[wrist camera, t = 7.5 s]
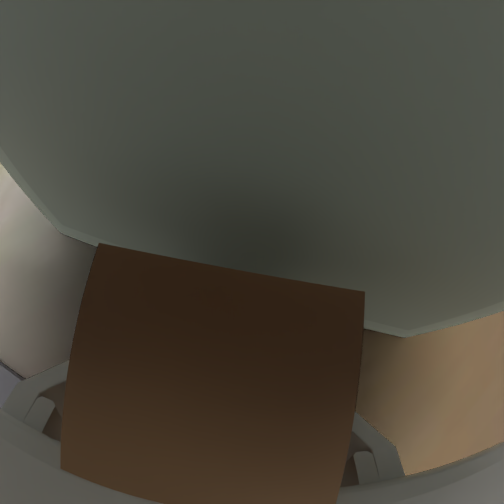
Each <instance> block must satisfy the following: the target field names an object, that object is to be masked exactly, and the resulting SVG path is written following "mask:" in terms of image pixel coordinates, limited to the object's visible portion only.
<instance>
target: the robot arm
mask: <svg viewBox="0 0 504 504" xmlns="http://www.w3.org/2000/svg"><path fill="white" fill-rule="evenodd" d="M68 366H69V360H68V361H66V362H64V363H61V364H59V365H57V366H55V367H52V368H50V369H48V370H46V371H43V372H41V373H39V374H37V375H34V376H32V377H30V378H28V379H25V380H23V381H21V382H18V383H17V385H16V386H15V388H14V389H13V391H12V392H11V394H10V395H9V397H8V398H7V400H6V401H5V403H4V404H3V406H2V407H1V409H0V504H163V503H159V502H154V501H150V500H146V499H142V498H139V497H135V496H132V495H128V494H125V493H122V492H118V491H115V490H112V489H109V488H107V487H104V486H101V485H98V484H95V483H93V482H90V481H88V480H85V479H83V478H80V477H78V476H76V475H73V474H71V473H69V472H66V471H64V470H62V469H60V457H61V429H62V415H63V404H64V395H65V386H66V379H67V372H68ZM336 504H504V442H501V443H499V444H497V445H494V446H492V447H490V448H488V449H486V450H483V451H481V452H478V453H476V454H474V455H471V456H468V457H466V458H463V459H460V460H458V461H455V462H452V463H449V464H446V465H443V466H440V467H437V468H433V469H430V470H427V471H423V472H419V473H416V474H412V475H408V476H405V474H404V471H403V468H402V465H401V462H400V459H399V456H398V453H397V450H396V447H395V446H394V445H393V444H392V443H391V442H389V441H388V440H387V439H386V438H385V437H384V436H383V435H381V434H380V433H379V432H378V431H377V430H376V429H374V428H373V427H372V426H371V425H370V424H369V423H368V422H367V421H365V420H364V419H363V418H362V417H361V416H360V415H359V414H358V413H356V412H355V414H354V421H353V427H352V433H351V438H350V444H349V449H348V454H347V459H346V464H345V468H344V473H343V477H342V481H341V485H340V489H339V493H338V497H337V501H336Z"/></svg>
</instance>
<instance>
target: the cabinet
mask: <svg viewBox="0 0 504 504" xmlns="http://www.w3.org/2000/svg"><path fill="white" fill-rule="evenodd" d="M0 162H1V164H2V165H3V166H4V168H5V169H6V170H7V172H8V173H9V174H10V175H11V177H12V178H13V179H14V180H15V182H16V183H17V184H18V185H19V187H20V188H21V189H22V190H23V191H24V193H25V194H26V195H27V196H28V197H29V198H30V200H31V201H32V202H33V203H34V204H35V205H36V207H37V208H38V209H39V210H40V211H41V212H42V213H43V214H44V216H45V217H46V218H47V219H48V220H49V221H50V222H51V223H52V224H53V225H54V226H55V227H56V229H57V230H58V231H59V232H60V233H62V234H64V235H67V236H69V237H72V238H75V239H77V240H80V241H83V242H85V243H88V244H91V245H93V246H96V247H98V244H99V243H103V244H108V245H113V246H118V247H122V248H127V249H132V250H137V251H142V252H147V253H152V254H157V255H162V256H167V257H172V258H178V259H183V260H188V261H193V262H198V263H204V264H209V265H214V266H220V267H225V268H230V269H236V270H241V271H247V272H252V273H258V274H264V275H269V276H275V277H281V278H286V279H292V280H298V281H304V282H310V283H315V284H321V285H327V286H333V287H339V288H346V289H352V290H358V291H364V292H365V309H364V328H365V329H369V330H373V331H378V332H382V333H386V334H390V335H395V336H399V337H403V338H406V337H410V336H415V335H419V334H424V333H428V332H432V331H436V330H440V329H444V328H448V327H451V326H455V325H459V324H462V323H466V322H469V321H473V320H476V319H479V318H483V317H486V316H489V315H492V314H495V313H498V312H501V311H504V0H0Z"/></svg>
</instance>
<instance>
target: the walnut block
mask: <svg viewBox="0 0 504 504" xmlns="http://www.w3.org/2000/svg"><path fill="white" fill-rule="evenodd" d="M364 309H365V292H364V291H358V290H352V289H346V288H339V287H333V286H327V285H321V284H315V283H310V282H304V281H298V280H292V279H286V278H281V277H275V276H269V275H264V274H258V273H252V272H247V271H241V270H236V269H230V268H225V267H220V266H214V265H209V264H204V263H198V262H193V261H188V260H183V259H178V258H172V257H167V256H162V255H157V254H152V253H147V252H142V251H137V250H132V249H127V248H122V247H118V246H113V245H108V244H103V243H99V244H98V247H97V250H96V253H95V256H94V259H93V263H92V266H91V269H90V273H89V276H88V280H87V283H86V287H85V291H84V294H83V298H82V302H81V306H80V310H79V315H78V319H77V323H76V328H75V333H74V338H73V343H72V348H71V354H70V359H69V366H68V372H67V379H66V386H65V395H64V404H63V415H62V429H61V457H60V469H62V470H64V471H66V472H69V473H71V474H73V475H76V476H78V477H80V478H83V479H85V480H88V481H90V482H93V483H95V484H98V485H101V486H104V487H107V488H109V489H112V490H115V491H118V492H122V493H125V494H128V495H132V496H135V497H139V498H142V499H146V500H150V501H154V502H159V503H163V504H336V501H337V497H338V493H339V489H340V485H341V481H342V477H343V473H344V468H345V464H346V459H347V454H348V449H349V444H350V438H351V433H352V427H353V421H354V414H355V407H356V400H357V393H358V385H359V376H360V366H361V355H362V343H363V329H364Z"/></svg>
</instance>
